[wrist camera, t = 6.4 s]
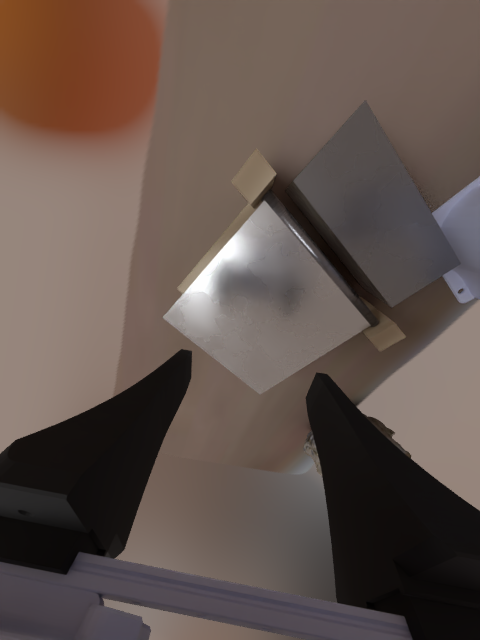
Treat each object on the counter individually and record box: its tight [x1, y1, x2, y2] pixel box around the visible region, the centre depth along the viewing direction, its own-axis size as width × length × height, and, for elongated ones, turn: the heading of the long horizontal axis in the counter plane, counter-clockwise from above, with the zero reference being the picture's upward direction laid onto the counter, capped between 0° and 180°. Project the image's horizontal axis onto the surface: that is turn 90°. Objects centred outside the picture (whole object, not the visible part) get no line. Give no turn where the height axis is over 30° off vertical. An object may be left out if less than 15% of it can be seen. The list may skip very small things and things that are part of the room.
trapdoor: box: [163, 100, 461, 394], centre depth 16 cm, size 12×18×4 cm
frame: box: [177, 148, 406, 351], centre depth 17 cm, size 16×12×6 cm
